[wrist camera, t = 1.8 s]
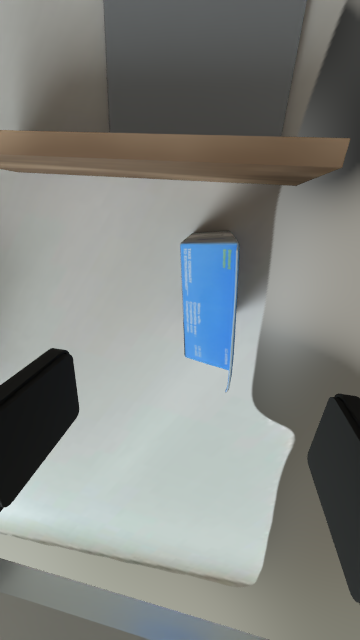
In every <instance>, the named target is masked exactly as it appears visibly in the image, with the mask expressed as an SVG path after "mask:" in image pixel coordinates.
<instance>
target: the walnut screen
mask: <svg viewBox="0 0 360 640" xmlns="http://www.w3.org/2000/svg"><path fill="white" fill-rule="evenodd" d="M349 141H350V138H316V137H315V138H314V137H273V136H230V135H186V134H143V133H99V132H56V131H13V130H0V169H4V170H9V171H14V172H26V173H46V174H67V175H87V176H108V177H128V178H149V179H169V180H190V181H210V182H231V183H251V184H272V185H292V186H297V185H299V184H301V183H304V182H307V181H309V180H312V179H314V178H317V177H319V176H322V175H324V174H327V173H329V172H332V171H334V170H337V169H339V168H342V166H343V162H344V159H345V155H346V152H347V148H348V145H349Z"/></svg>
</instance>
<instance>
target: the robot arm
mask: <svg viewBox="0 0 360 640" xmlns="http://www.w3.org/2000/svg"><path fill="white" fill-rule="evenodd" d="M78 413H79V402H78V395H77V387H76V379H75V371H74V364H73V357H72V355H70V354H69V352H68V351H67V350H61V349H55V348H51V349H49V350H48V351H47V352H45V353H44V354H42V355H41V356H40V357H38V358H37V359H36V360H34V361H33V362H32V363H30V364H29V365H27V366H26V367H25V368H23V369H22V370H21V371H19V372H18V373H17V374H15V375H14V376H12V377H11V378H10V379H8V380H7V381H6V382H4V383H3V384H2V385H0V512H1V510H2V509H3V508H4V507H7V506H9V505H10V504H11V503H12V502H13V501H14V499H15V498H16V497H17V495H18V494H19V493H20V491H21V490H22V489H23V487H24V486H25V485H26V483H27V482H28V481H29V480H30V478H31V477H32V476H33V474H34V473H35V472H36V470H37V469H38V468H39V466H40V465H41V464H42V462H43V461H44V460H45V459H46V457H47V456H48V455H49V453H50V452H51V451H52V449H53V448H54V447H55V445H56V444H57V443H58V441H59V440H60V439H61V437H62V436H63V435H64V434H65V432H66V431H67V430H68V428H69V427H70V426H71V424H72V423H73V422H74V420H75V419H76V418H77V416H78ZM308 465H309V468H310V471H311V474H312V477H313V480H314V483H315V486H316V490H317V493H318V495H319V499H320V502H321V505H322V508H323V511H324V514H325V517H326V520H327V523H328V526H329V529H330V532H331V535H332V539H333V542H334V544H335V548H336V550H337V553H338V557H339V560H340V563H341V566H342V569H343V572H344V575H345V578H346V581H347V585H348V587H349V590H350V593H351V595H352V597H353V599H354V600H355V601H356V602H359V603H360V398H359V397H357V396H351V395H344V394H336V395H335V397H330V398H329V400H328V402H327V406H326V408H325V410H324V413H323V415H322V418H321V421H320V423H319V426H318V428H317V431H316V434H315V436H314V439H313V441H312V444H311V447H310V449H309V452H308ZM0 640H269V639H266V638H263V637H259V636H256V635H252V634H250V633H246V632H243V631H240V630H237V629H233V628H230V627H227V626H224V625H220V624H217V623H214V622H211V621H207V620H204V619H201V618H198V617H194V616H191V615H188V614H184V613H181V612H178V611H174V610H171V609H168V608H165V607H161V606H158V605H155V604H151V603H148V602H145V601H141V600H138V599H135V598H132V597H128V596H125V595H122V594H118V593H115V592H112V591H108V590H105V589H101V588H98V587H95V586H92V585H88V584H85V583H82V582H78V581H75V580H72V579H69V578H65V577H62V576H59V575H55V574H52V573H48V572H45V571H41V570H38V569H35V568H31V567H28V566H25V565H21V564H18V563H15V562H11V561H8V560H4V559H1V558H0Z"/></svg>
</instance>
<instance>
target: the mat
mask: <svg viewBox="0 0 360 640" xmlns="http://www.w3.org/2000/svg"><path fill="white" fill-rule="evenodd" d="M103 1H104V22H105V43H106V63H107V84H108V105H109V126H110V133H143V134H186V135H230V136H273V137H281V135H282V129H283V124H284V119H285V114H286V108H287V103H288V98H289V92H290V87H291V82H292V77H293V71H294V66H295V61H296V55H297V50H298V45H299V40H300V34H301V29H302V24H303V18H304V13H305V8H306V3H307V0H103Z"/></svg>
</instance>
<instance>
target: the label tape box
mask: <svg viewBox="0 0 360 640" xmlns="http://www.w3.org/2000/svg"><path fill="white" fill-rule="evenodd" d="M239 247H240V246H239V243H238V242H237V240H236V238H235V237H234V236H233V234H232V233H231V232H230V231H224V232H205V233H192V234H191V235H190V236H189V237H187V238H186V239H185V240H184V241H183V242H181V244H180V252H181V277H182V300H183V324H184V350H185V357H187V358H190V359H193V360H196V361H199V362H203V363H206V364H209V365H212V366H216V367H219V368H223V369H226V370H229V377H228V386H227V389H226V391H225V392H227V391H228V390H229V386H230V380H231V375H232V366H233V355H234V341H235V324H236V306H237V289H238V273H239Z"/></svg>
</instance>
